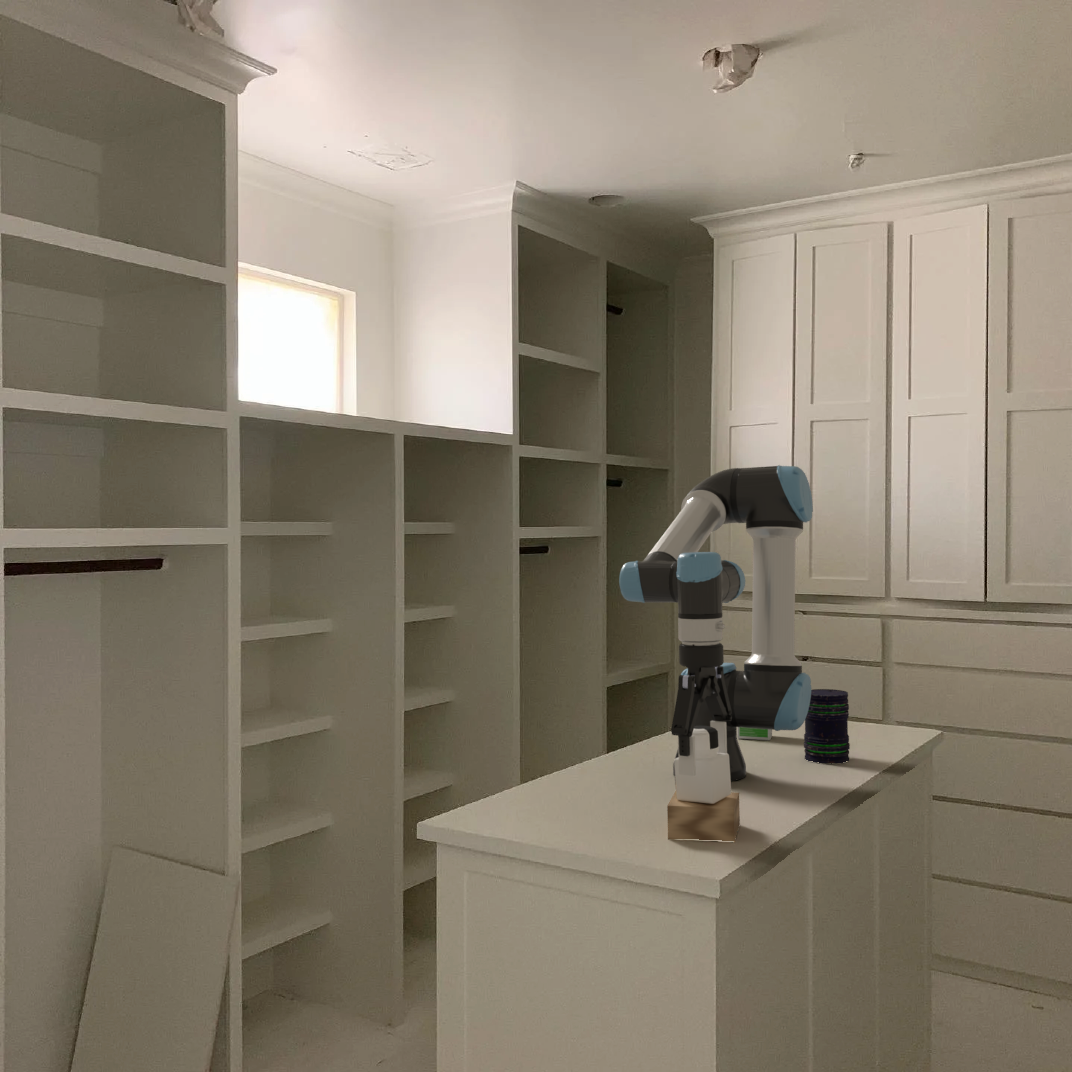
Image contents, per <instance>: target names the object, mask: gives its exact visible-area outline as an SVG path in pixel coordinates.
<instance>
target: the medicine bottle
mask: <svg viewBox="0 0 1072 1072" xmlns="http://www.w3.org/2000/svg"><path fill="white" fill-rule="evenodd" d="M692 736H695V762H696V775H695V776H690V775H681V774H679V757H678V758H674V759H673V763H674V771H675V776H674V785H675V791H676V799H677V800H680V801H690V802H699V803H709V804H714V803H716V802H718V801H720V800H721V799H723V798H725V797H727V796H729V795H730V794H731V792H732V781H731V779H730V763H729V754H728V753H717V752H718V751H719V744H718V731H717V730H716V729H715V728H713V727H710V726H694V729H693V733H692Z"/></svg>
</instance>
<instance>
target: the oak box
mask: <svg viewBox="0 0 1072 1072" xmlns="http://www.w3.org/2000/svg"><path fill="white" fill-rule="evenodd" d="M666 811H667V840H669V839H699V840H722V841H735V842H736V840H735V838H736V839H737V837H736V835H737V836H738V833H737V831H738V832H739V830H738V828H739V829H740V826H741V821H740V820H741V819H740V818H741V816H740V815H741V814H740V811H741V810H740V792H734V791H733V792H732V791H731V794H730V795H729V796H727V797H725V798H723V799H721V800H720V801H718V802H716V803H714V804H709V803H699V802H690V801H680V800H677V799H676V790H675V792H674V793H673V795H672V797H671V798H670V800H669V802H668V803H667V810H666ZM739 825H740V826H739Z"/></svg>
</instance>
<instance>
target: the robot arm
mask: <svg viewBox="0 0 1072 1072" xmlns="http://www.w3.org/2000/svg"><path fill="white" fill-rule="evenodd" d="M813 505H814V504H813V497H812V491H811V486H810V483H809V480H808V477H807V475H806V473H805V472H804V470H803V469H802V468H800V467H799V466H793V465H792V466H791V465H780V464H779V465H772V466H757V467H754V466H753V467H741V468H740V467H737V468H736V467H734V468H733V467H732V468H727V469H723V470H721V471H718V472H716V473H714V474H712V475H710V476H708V477H706V478H705V479H704V480H702V481H700V482H699V483H697V485H695V486H694V487H693V488H692V489H691V490H690V491H689V492H688V493H687V495H686V496H685V497H684V498H683V499H682V502H681V506H680V507H681V508H680V509H681V510H680V511H679V513H678V514H677V516H676V517H675V518H674V520H673V521H672V522H671V523H670V525H669V526H668V528H667V529H666V530H665V532H664V533H662V534H663V535H661V537H660V538H659V540H658V541H657V542H656V543H655V544H654V546H653V547H652V549H651V550H650V551H649V553H648V554H647V555H646V557H645V558H644V559H643V560H642V561H641V560H640V561H639V560H635V561H628V562H626V563H624V564H623V565H622V567H621V569H620V572H619V580H618V582H619V583H618V584H619V589H620V594H621V596H622V597H623V599H625V600H626V601H628V602H634V603H635V602H637V603H642V604H646V603H677V608H678V609H677V613H678V615H677V619H678V620H677V624H678V625H677V629H678V630H677V632H678V633H677V634H678V635H677V637H678V640H679V641H680V642H681V643H680V644H679V645H678V657H679V658H678V661H679V662H678V663H679V665H681V666H682V667H685V669H684V670H683V671H682V672H681V673H680V674H679V675H678V686H677V687H678V689H677V694H676V700H675V706H674V712H673V718H672V724H671V730H670V732H671V735H672V736H677V741H678V742H677V744H678V745H677V751H676V753H675V758H678V757H679V774H681V775H690V776H695V775H696V762H695V736H692V733H693V729H694V726H710V727H713V728H715V729H716V730H717V731H718V744H719V751H718V752H717V753H728V754H729V763H730V779H731V782H734V781H739V780H741V779H744V778H745V777H747V766H746V762H745V759H744V756H743V752H742V750H741V746H740V744H739V741H738V738H737V727H744V728H758V729H771V730H772V731H773V730H774V731H775V732H780V731H795V730H799V729H800V728H801V727H802V725H803V724H805V719H806V716H807V713H808V709H809V705H810V699H811V690H812V684H811V683H812V680H811V676H810V675H809V674H808V673H806V672H803V664H802V663H801V661H800V660H799V659H798V658H797V657H796V655H795V640H796V639H795V626H796V625H795V624H796V623H795V621H796V618H795V615H796V614H795V613H796V612H795V611H796V540H797V538H798V537H799V536H801V534H802V533H803V532H804V523H809V522H810V521H811V520H812V518H813V512H814V509H813ZM726 524H727V525H728V524H745V525H746V526H745V532H746V533H747V534H748V535H749V536H750V537H751V538H752V539H753V540H752V542H753V543H752V545H753V546H752V605H751V607H752V610H751V611H752V612H751V619H752V621H751V626H752V627H751V628H752V629H751V654H750V656H749V657H748V658H747V659H746V660H745V661H743V670H737V666H736V664H735V663H734V662H724V645H723V644H722V643H721V641H722V640H723V639H724V636H723V634H724V633H723V632H724V629H725V628H726V627H725V626H726V625H725V624H724V623H723V604H724V603H725V604H727V603H730V602H732V601H733V600H735V599H738V598H739V596H741V595H742V593H743V591H744V589H745V587H746V576H745V574H744V573H745V572H744V570H743V569H742V568H741V567H740V566H739V565H738V564H737V563H735V562H734V561H732V560H731V561H729V560H726V559H723V560H722V556H721V554H720V553H719V552H715V551H699V550H700V549H701V548H702V546H703V545H704V544H705V542H706V541H707V539H708V538H709V536H710V535H711V533H712V532H715V531H717V530H719V529H720V528H721V527H722V526H723V525H726ZM675 758H674V759H675ZM672 767H673V769H672V770H673V776H674V777H675V771H674V762H672Z"/></svg>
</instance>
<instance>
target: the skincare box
mask: <svg viewBox="0 0 1072 1072" xmlns="http://www.w3.org/2000/svg"><path fill="white" fill-rule="evenodd" d="M772 736H773V730H771V729H758V728H744V727H737V739H741V740H754V741H755V740H757V741H759V740H760V741H771V738H772Z"/></svg>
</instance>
